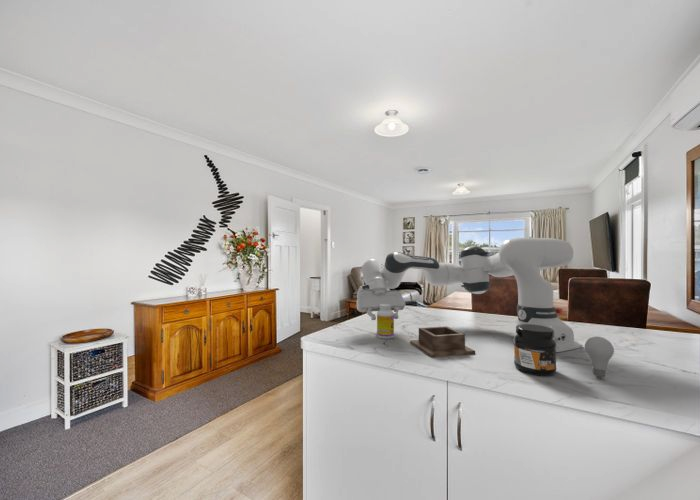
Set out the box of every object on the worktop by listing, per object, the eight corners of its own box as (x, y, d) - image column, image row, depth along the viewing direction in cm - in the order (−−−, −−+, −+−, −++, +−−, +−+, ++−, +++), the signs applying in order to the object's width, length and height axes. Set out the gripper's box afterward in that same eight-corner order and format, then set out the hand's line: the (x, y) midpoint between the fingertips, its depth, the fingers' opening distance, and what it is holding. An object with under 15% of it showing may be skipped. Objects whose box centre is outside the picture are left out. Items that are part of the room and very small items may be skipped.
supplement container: (521, 375, 85) (521, 331, 85) (508, 362, 95) (508, 323, 95) (564, 378, 83) (564, 333, 83) (546, 364, 93) (546, 324, 93)
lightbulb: (579, 373, 86) (579, 334, 86) (599, 373, 86) (599, 333, 87) (598, 383, 80) (598, 340, 80) (620, 382, 80) (620, 339, 80)
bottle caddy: (448, 340, 118) (448, 324, 118) (475, 353, 103) (475, 335, 103) (410, 343, 114) (410, 326, 115) (431, 357, 99) (431, 338, 99)
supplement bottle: (393, 339, 119) (393, 306, 119) (376, 338, 120) (376, 305, 120) (394, 335, 125) (394, 303, 125) (377, 334, 127) (378, 302, 127)
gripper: (397, 294, 137) (407, 321, 127) (353, 296, 132) (359, 324, 123) (402, 285, 133) (411, 312, 123) (355, 286, 128) (362, 315, 118)
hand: (385, 318), depth 123 cm, fingers open, 8 cm apart
